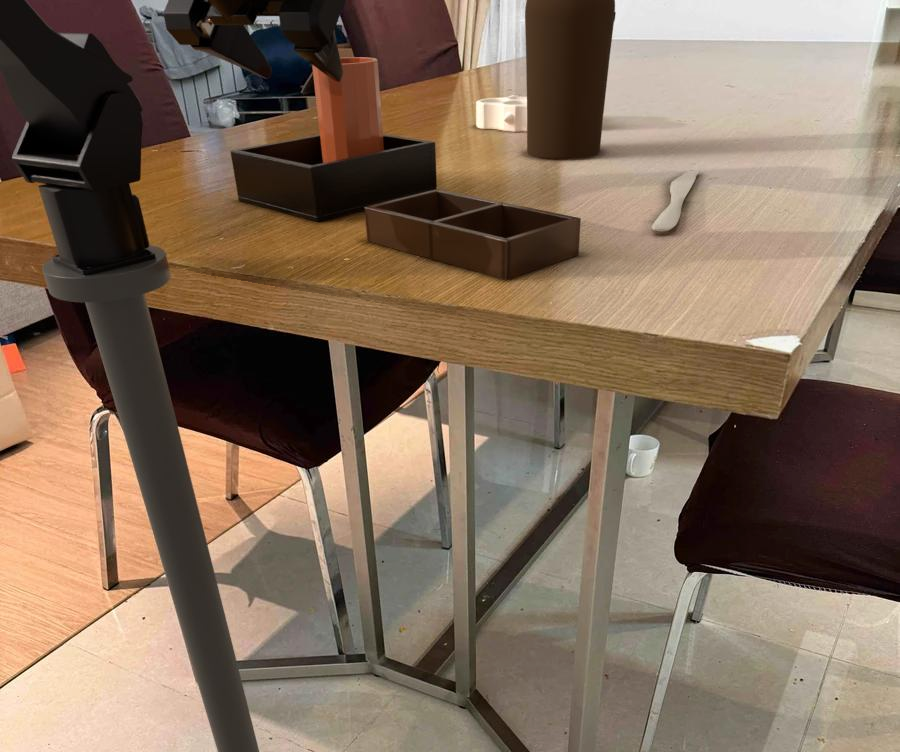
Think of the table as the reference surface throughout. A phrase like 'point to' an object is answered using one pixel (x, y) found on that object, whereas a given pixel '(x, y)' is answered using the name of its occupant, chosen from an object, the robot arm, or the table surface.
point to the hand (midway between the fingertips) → (303, 75)
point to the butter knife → (675, 201)
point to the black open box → (331, 176)
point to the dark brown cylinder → (567, 75)
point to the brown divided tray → (474, 232)
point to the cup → (349, 110)
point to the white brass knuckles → (502, 113)
